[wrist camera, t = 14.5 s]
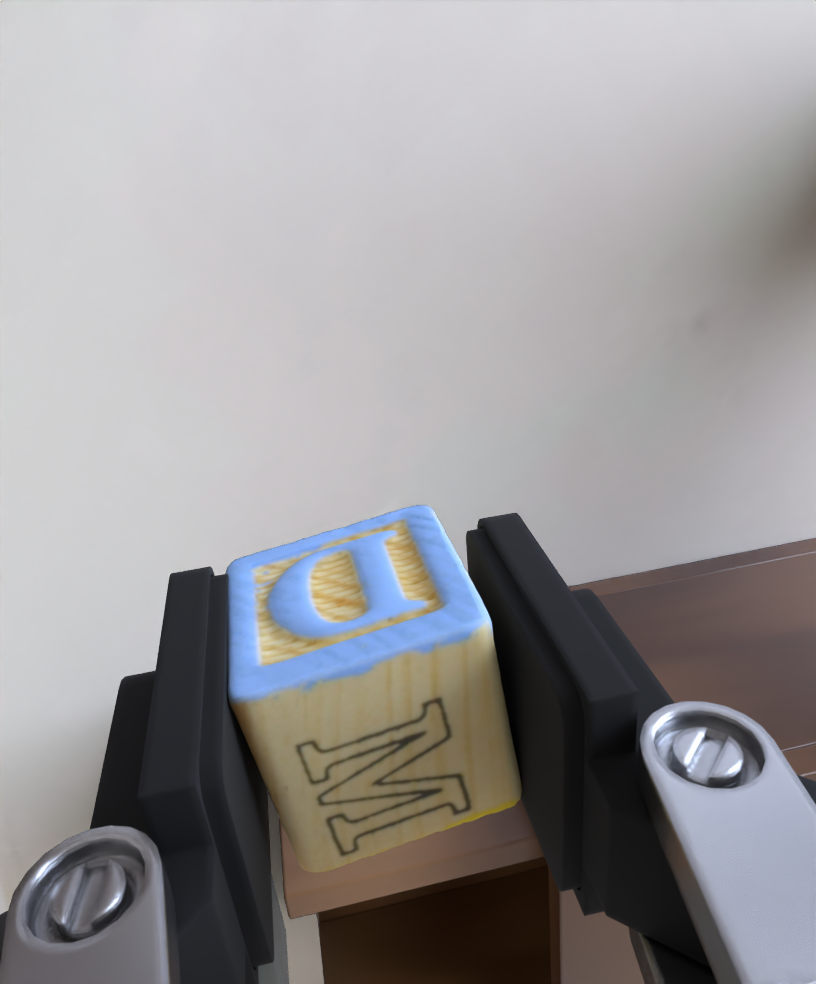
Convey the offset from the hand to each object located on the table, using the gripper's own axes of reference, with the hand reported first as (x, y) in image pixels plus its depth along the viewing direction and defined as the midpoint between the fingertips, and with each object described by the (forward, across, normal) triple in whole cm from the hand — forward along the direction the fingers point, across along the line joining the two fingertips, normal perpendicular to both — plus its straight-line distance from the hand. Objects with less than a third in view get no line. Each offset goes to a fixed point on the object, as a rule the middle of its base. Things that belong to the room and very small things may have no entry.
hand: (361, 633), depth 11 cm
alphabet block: (+1, 0, 0) cm, 1 cm away
